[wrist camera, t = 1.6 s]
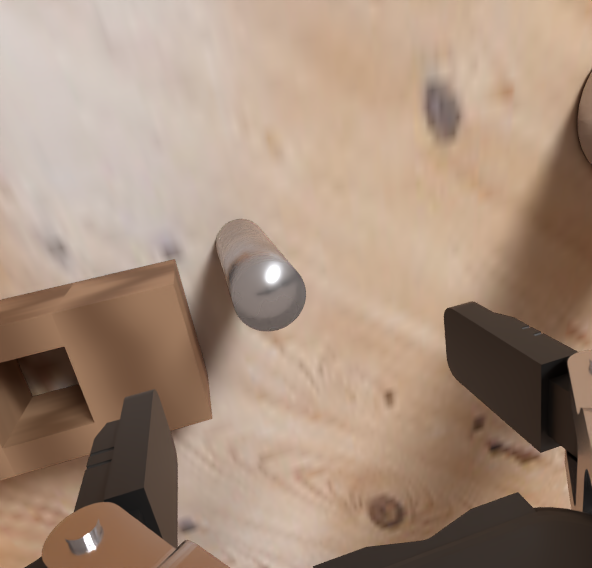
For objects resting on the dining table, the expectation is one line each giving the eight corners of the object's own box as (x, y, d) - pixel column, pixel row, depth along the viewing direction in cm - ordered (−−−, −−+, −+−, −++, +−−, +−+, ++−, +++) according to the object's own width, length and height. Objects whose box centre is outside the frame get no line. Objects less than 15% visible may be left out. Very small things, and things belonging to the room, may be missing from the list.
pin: (259, 214, 28) (299, 253, 18) (269, 261, 29) (311, 320, 19) (210, 225, 27) (224, 271, 18) (222, 272, 28) (241, 339, 19)
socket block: (175, 259, 27) (173, 284, 23) (207, 375, 30) (212, 418, 25) (-123, 328, 25) (-194, 372, 20) (-58, 448, 27) (-107, 511, 23)
